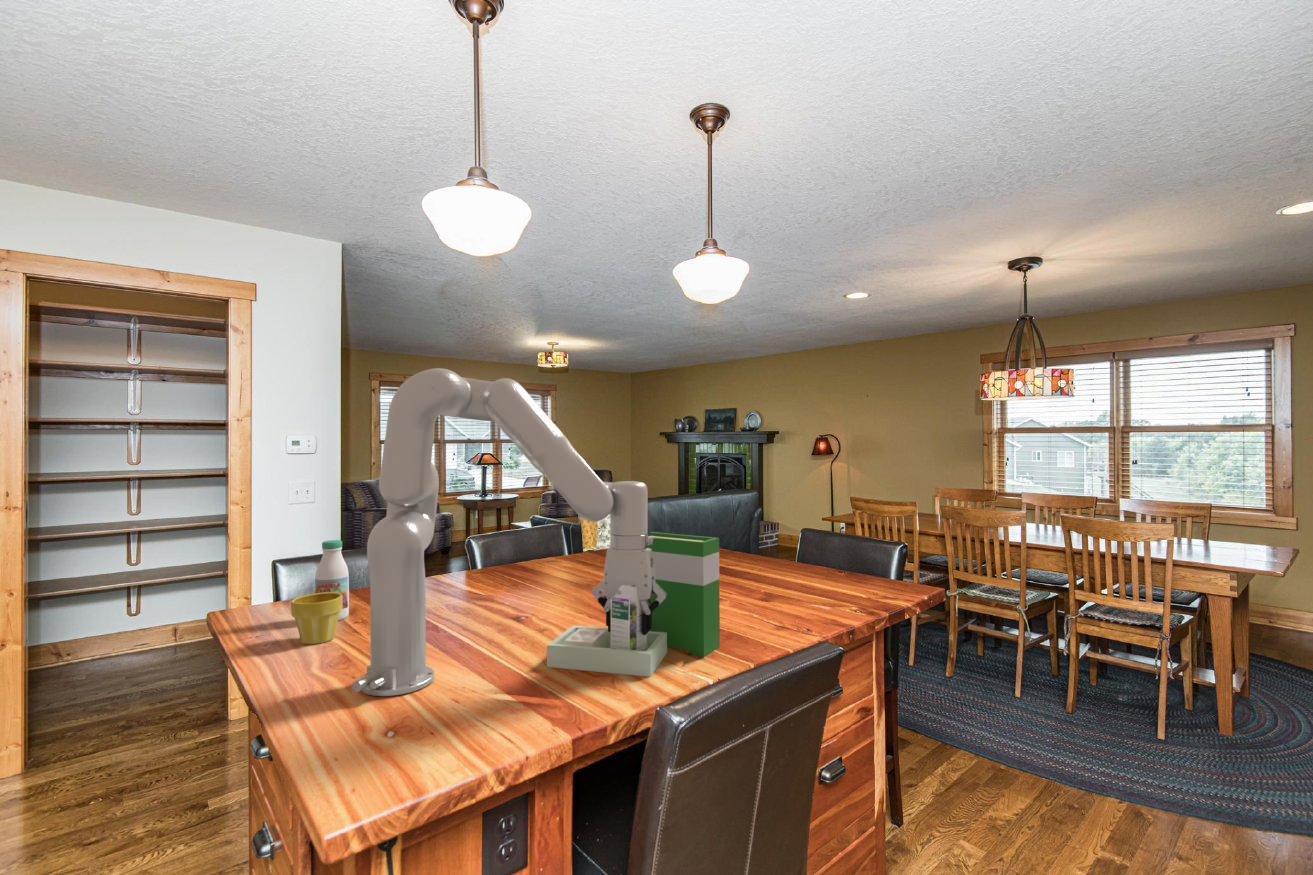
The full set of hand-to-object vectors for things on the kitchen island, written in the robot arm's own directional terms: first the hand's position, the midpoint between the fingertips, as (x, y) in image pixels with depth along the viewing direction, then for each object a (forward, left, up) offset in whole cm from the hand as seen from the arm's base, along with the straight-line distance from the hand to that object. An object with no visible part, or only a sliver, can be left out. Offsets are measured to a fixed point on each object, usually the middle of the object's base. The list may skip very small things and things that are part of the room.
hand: (628, 630), depth 120 cm
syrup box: (0, 0, -5) cm, 5 cm away
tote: (0, +4, -7) cm, 8 cm away
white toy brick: (0, +9, -6) cm, 11 cm away
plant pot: (-2, +74, -7) cm, 75 cm away
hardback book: (+14, -7, -7) cm, 17 cm away
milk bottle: (+13, +84, -7) cm, 86 cm away
